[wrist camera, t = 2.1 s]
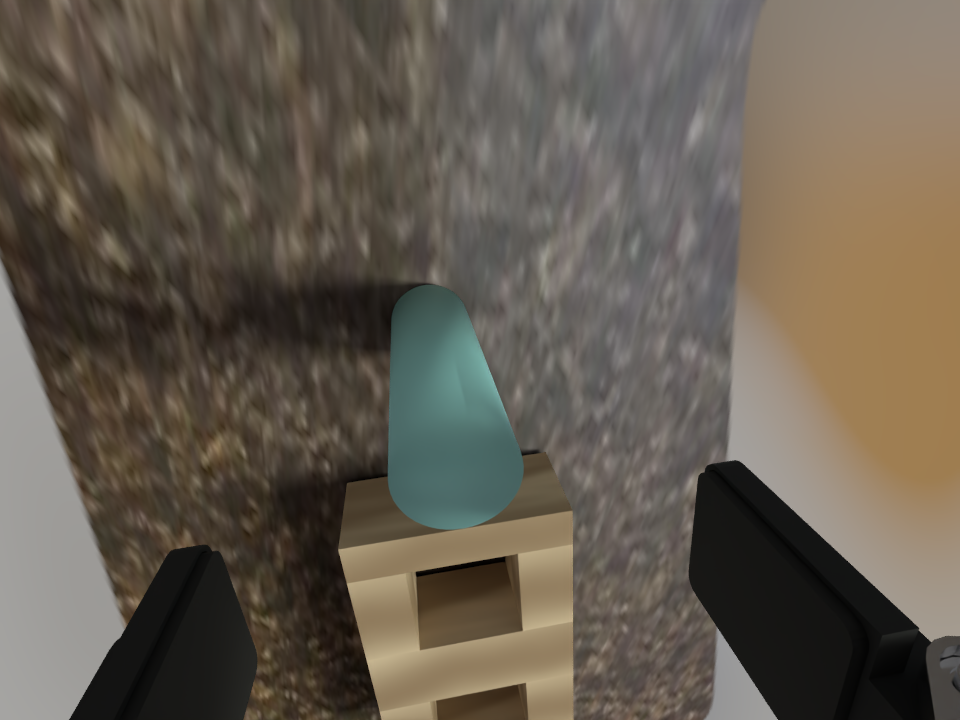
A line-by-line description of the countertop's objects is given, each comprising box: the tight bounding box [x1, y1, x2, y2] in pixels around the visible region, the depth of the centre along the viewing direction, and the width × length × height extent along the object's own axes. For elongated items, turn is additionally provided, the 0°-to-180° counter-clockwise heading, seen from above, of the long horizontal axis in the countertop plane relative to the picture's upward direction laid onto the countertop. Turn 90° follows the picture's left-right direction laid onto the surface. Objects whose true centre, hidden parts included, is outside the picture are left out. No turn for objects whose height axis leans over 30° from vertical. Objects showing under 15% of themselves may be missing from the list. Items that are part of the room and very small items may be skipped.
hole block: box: [338, 452, 573, 720], centre depth 25 cm, size 16×9×4 cm, turn 4°
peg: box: [388, 285, 524, 530], centre depth 16 cm, size 3×3×10 cm
